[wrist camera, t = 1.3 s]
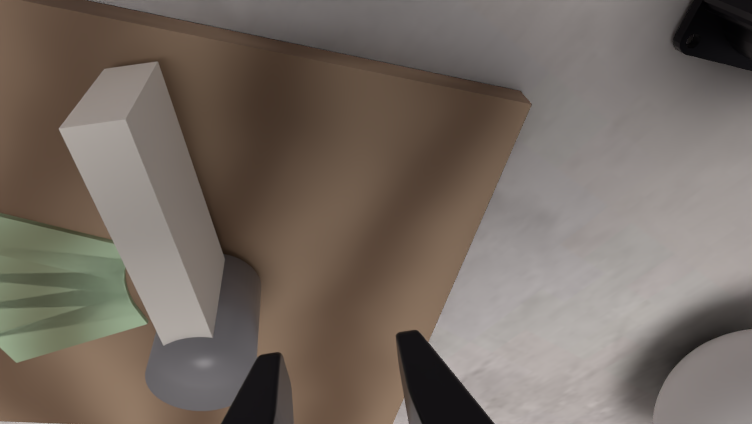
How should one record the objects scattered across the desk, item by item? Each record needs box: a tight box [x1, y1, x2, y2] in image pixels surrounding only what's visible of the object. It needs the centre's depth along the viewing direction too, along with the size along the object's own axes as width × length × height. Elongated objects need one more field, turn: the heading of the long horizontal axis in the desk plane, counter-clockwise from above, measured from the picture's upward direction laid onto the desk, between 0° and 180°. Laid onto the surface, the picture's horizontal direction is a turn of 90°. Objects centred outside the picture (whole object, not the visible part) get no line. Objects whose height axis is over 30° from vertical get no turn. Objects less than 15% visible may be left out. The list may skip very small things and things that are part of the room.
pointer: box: [59, 61, 261, 411], centre depth 18 cm, size 11×4×4 cm, turn 6°
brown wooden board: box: [0, 0, 532, 424], centre depth 23 cm, size 20×20×1 cm
